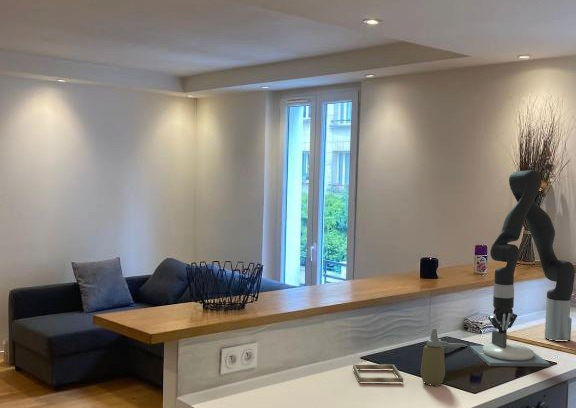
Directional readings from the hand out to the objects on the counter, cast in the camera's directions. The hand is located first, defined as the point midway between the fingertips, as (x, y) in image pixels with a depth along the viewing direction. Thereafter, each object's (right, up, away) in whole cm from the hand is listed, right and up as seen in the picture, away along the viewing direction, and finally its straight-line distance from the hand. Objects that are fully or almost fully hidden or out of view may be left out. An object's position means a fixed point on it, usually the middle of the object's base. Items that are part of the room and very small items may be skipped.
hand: (502, 339), depth 255 cm
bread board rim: (-53, -5, -35) cm, 64 cm away
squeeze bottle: (-36, -6, -40) cm, 54 cm away
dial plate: (-1, -5, -8) cm, 10 cm away
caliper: (-20, -5, -1) cm, 21 cm away
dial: (-1, -4, -7) cm, 8 cm away
